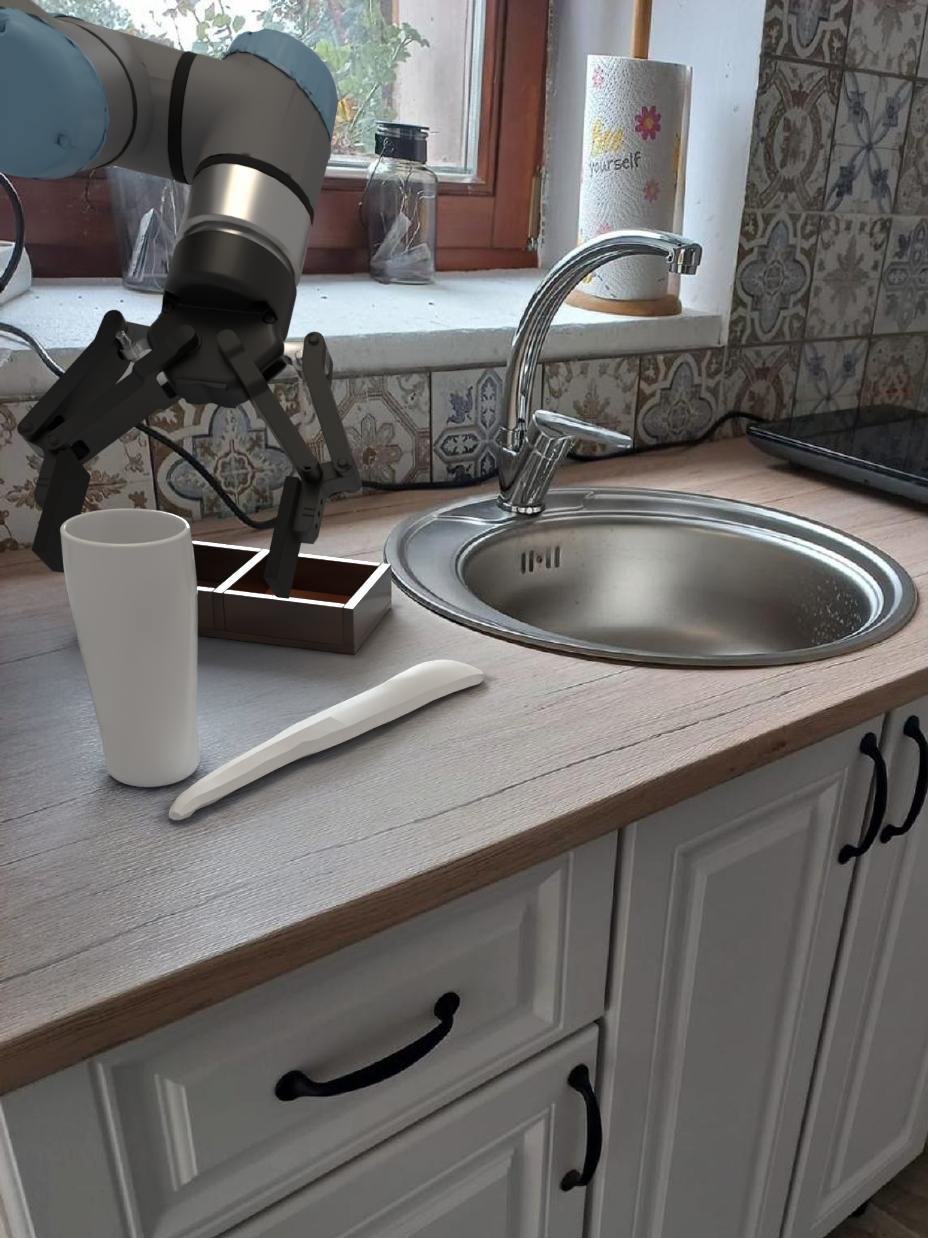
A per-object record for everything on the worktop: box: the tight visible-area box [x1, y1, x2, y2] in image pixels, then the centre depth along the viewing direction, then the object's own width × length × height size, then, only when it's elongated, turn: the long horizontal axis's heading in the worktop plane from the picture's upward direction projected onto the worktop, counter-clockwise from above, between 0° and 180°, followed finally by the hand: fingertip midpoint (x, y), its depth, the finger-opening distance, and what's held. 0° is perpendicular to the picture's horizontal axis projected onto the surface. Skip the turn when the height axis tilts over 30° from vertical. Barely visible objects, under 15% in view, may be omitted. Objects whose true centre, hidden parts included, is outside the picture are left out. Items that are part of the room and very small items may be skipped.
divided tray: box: [192, 540, 393, 655], centre depth 96 cm, size 20×11×4 cm, turn 84°
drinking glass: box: [60, 508, 201, 788], centre depth 71 cm, size 7×7×15 cm
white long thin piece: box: [168, 658, 485, 821], centre depth 80 cm, size 28×4×2 cm, turn 149°
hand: (161, 575), depth 72 cm, fingers open, 13 cm apart
